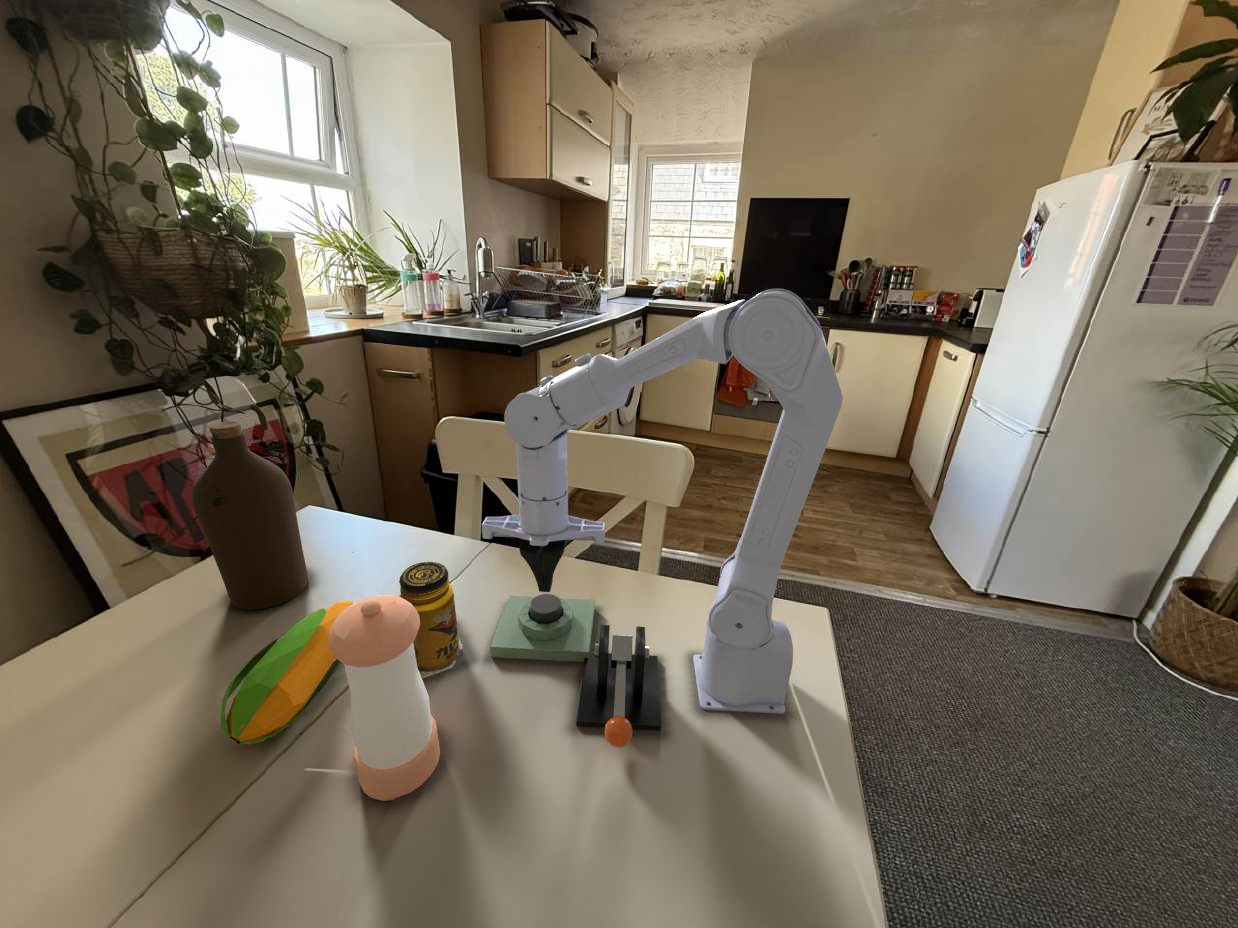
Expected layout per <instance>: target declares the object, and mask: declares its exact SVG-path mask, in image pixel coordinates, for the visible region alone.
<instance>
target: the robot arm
mask: <svg viewBox="0 0 1238 928" xmlns="http://www.w3.org/2000/svg"><path fill="white" fill-rule="evenodd" d="M827 345H828V344H827V342H826V339H825V336H824V333H823V330H822V327H821V324H820V322H819V320H818V318H817V317H816V315H815V314H814V313H813V311H811V310H810V308H809V307H808V306H807V305H806V303H805V301H804V300H803V299H802V298H801V297H800V296H798V295H797V294H796V293H795V292H792V291H791V290H788V289H785V288H770V289H766V290H763V291H761V292H759V293H758V294H756V295H754V296H753V297H752V298H749V300H746V299H741V300H737V301H735V302H732V303H729V304H726V305H723V306H720V307H717V308H714V309H711V310H709V311H705V312H703V313H701V314H699V315H697V316H695V317H692V318H691V319H689V320H688V321H686V322H683V323H682V324H680V325H678V326H676V327H675V328H673V329H671V330H669V331H667V332H666V333H663V334H662V335H660V336H658V337H656V338H654V339H653V340H651V341H649V342H647V343H645V344H644V345H642V346H640V347H638V348H637V349H634V350H632V351H631V352H629V353H627V354H626V355H624V356H622V357H620V358H616V357H611V356H610V355H606V354H602V353H598V354H596V355H594V356H592V355H591V354H590V353H586V354H584V355H581V356H579V357H578V358H576V359H575V360H574V363H575V364H576V365H575V366H574V367H572V368H570V369H568V370H567V371H566V370H565V371H564V372H563V373H560V374H558V375H557V376H554V377H553V376H552V375H551V374H550V375H547V376H545V377H543V378H541V379H540V380H539V384H540V385H539V386H537V387H535V388H533V389H531V390H528V391H526V392H522V393H518V394H517V395H516V396H515V398H514V399H512V400H511V401H509V402H508V403H507V406H506V408H505V410H504V416H503V421H504V426H505V428H506V431H507V433H508V434H509V436H510V437H511V439H512V440H513V441H514V442H515V452H516V453H515V456H516V473H517V474H516V475H517V493H518V495H517V497H518V514H511V515H503V516H486V517H485V518H484V520H483V522H482V523H481V533H482V534H481V535H482V539H484V540H491V539H493V537H503V538H518V539H520V546H519V554H520V557H522V558H523V560H524V561H525V562H526V563H527V565H528V566H529V568H530V570H531V572H532V574H533V577H534V579H535V581H536V585H537V588H538V591H539V593H551V590H552V586H553V582H554V574H555V571H556V568H557V566H558V564H559V562H560V560H561V559H562V557H563V555H564V553H565V549H566V545H567V541H585V542H586V541H587V542H594V544H596V545H604V544H605V537H606V522H603V521H594V520H590V519H585V518H581V517H576V516H572V515H569V482H568V481H569V466H568V465H569V461H568V460H569V459H568V457H569V455H568V433H569V430H572V429H577V428H579V427H581V426H583V425H585V424H588V423H589V422H591V421H594V420H596V419H598V418H601V417H603V416H605V415H606V414H609V413H611V412H613V411H615V410H617V409H620V408H622V407H624V406H625V405H626V403H627V401H628V399H629V395H630V392H631V389H632V388H634V387H637V386H639V385H641V384H643V383H645V382H647V381H650V380H653V379H654V378H656V377H659V376H661V375H664V374H666V373H668V372H670V371H673V370H675V369H677V368H680V367H682V366H684V365H686V364H688V363H691V362H694V361H696V360H704V361H709V362H713V363H717V364H722V365H727V363H728V362H729V361H730V360H731V358H732V357H734V358H735V360H737V362H738V363H739V364H740V365H741V366H742V367H743V368H745V370H747V371H749V372H750V373H751V374H753V376H756V377H757V378H759V379H760V380H762V381H763V382H764V383H765V384H767V386H768V388H769V390H770V391H771V392H772V393H773V395H774V397H775V398H776V399H777V401H778V402H779V405H781V407H782V408H783V409H782V411H781V414H780V418H779V421H778V424H777V427H776V430H775V433H774V436H773V439H772V442H771V445H770V448H769V452H768V455H767V457H766V460H765V464H764V466H763V470H762V473H761V476H760V478H759V482H758V484H757V488H756V491H755V494H754V497H753V500H752V503H751V506H750V510H749V513H748V516H747V519H746V521H745V524H744V528H743V529H742V530H743V531H742V534H741V537H740V538H739V540H738V543H737V546H736V548H735V550H734V552H733V553H732V554H731V555H730V556H729V557H728V558H727V559H725V560H724V562H723V563H722V565H721V567H720V570H719V580H718V584H717V588H716V592H715V595H714V600H713V602H712V605H711V607H710V608H709V610H708V613H707V618H706V625H705V632H704V638H703V639H704V640H703V647H702V654H693V656H692V657H693V659H692V661H693V666H694V667H693V668H694V674H695V681H696V688H697V696H698V703H699V707H700V708H701V709H702V710H706V711H723V712H724V711H726V712H745V713H759V714H761V713H764V714H778V715H779V714H781V715H783V714H785V713H786V706H785V700H786V696H787V691H788V687H789V682H790V678H791V674H792V671H793V663H794V661H793V660H794V645H793V638H792V634H791V631H790V629H789V626H788V625H787V624H786V622H784V621H780V620H776V619H774V618H773V617H772V616H773V603H774V598H775V594H776V590H777V585H778V581H779V576H780V571H781V567H782V564H783V561H784V559H785V556H786V555H787V551H788V549H789V546H790V543H791V541H792V538H793V535H794V533H795V530H796V528H797V525H798V522H799V520H800V517H801V514H802V513H803V509H804V506H805V503H806V501H807V499H808V496H809V493H810V490H811V488H812V485H813V483H814V480H815V478H816V475H817V472H818V469H819V467H820V465H821V462H822V459H823V456H824V454H825V451H826V448H827V446H828V443H829V441H830V438H831V436H832V433H833V430H834V428H835V426H836V423H837V420H838V417H839V414H840V412H841V409H842V408H843V407H842V406H843V401H844V396H843V392H842V389H841V385H840V383H839V379H838V377H837V374H836V373H837V372H836V370H835V367H834V364H833V361H832V358H831V355H830V352H829V351H830V350H829V348H828V346H827ZM772 618H773V619H772Z"/></svg>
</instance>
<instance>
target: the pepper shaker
mask: <svg viewBox="0 0 1238 928" xmlns="http://www.w3.org/2000/svg"><path fill="white" fill-rule="evenodd" d="M399 596H400V595H399ZM399 596H398V595H392V594H378V595H374V596H368V597H366V598H363V599H361V600H358V601H355V602H353V604H352V605H350V606H349V607H347V608H345V609H344V610H343V611H342V612H341V613H340V614H339V615H338V616H337V618H336V620H335V621H334V623H333V625H332V627H331V628H330V630H329V639H328V647H329V649H330V651H331V653H332V654H333V655H334V657H335V658H336V659H338V660H339V661H340V663H343V665H344V670H345V674H346V678H347V682H348V687H349V693H350V731H351V735H352V739H353V742H354V744H355V745H354V747H353V762H354V766H355V770H356V774H357V778H358V783H359V785H360V787H361V789H362V791H363V793H364V794H365V795H367V796H368V797H369V798H371V799H374V800H378V801H380V802H381V801H382V802H386V801H394V800H395V799H397V798H399V797H402V796H405V795H408V794H410V793H412V792H413V791H415V790H416V789H418V788H420V787H421V786H422V785H423V784H424V783H425V782H426V781H427V780H428V779H429V778H430V777H431V776H432V775H433V773H434V771H435V769H436V767H437V766H438V764H439V760H440V755H441V749H440V740H439V735H438V734H439V733H438V726H437V721H436V720H435V718H434V717H433V715H432V714H431V703H430V695H429V694H428V691H427V689H426V685H425V683H424V680H423V679H422V678H421V675H420V673H419V670H418V668H417V663H416V657H415V651H414V645H413V642H414V640H415V638H416V635H417V633H418V630H419V626H420V618H419V614H418V612H417V610H416V609H415V608H414V606H413V605H412V604H411V603H410V602H408V601H407V600H405V599H403V598H401V597H399ZM336 659H335V660H336Z"/></svg>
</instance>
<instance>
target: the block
mask: <svg viewBox="0 0 1238 928" xmlns="http://www.w3.org/2000/svg"><path fill="white" fill-rule="evenodd" d="M556 596H557V597H559V598H560V600H561V606H562V614H561V617H560V618H559V619H558V620H557V621H556V622H553V623H550V624H539V623H536V622H534V621H533V620H532V618H531V616H530V603H531V601H532V599H533V598H535V597H536V596H530V595H529V596H528V595H527V596H526V595H509V597H508V599H507V602H506V605H505V607H504V610H503V612H502V615H501V618H500V620H499V622H498V625H497V628H496V631H495V632H494V633H495V634H494V636H493V639H492V642H491V644H490V647H489V648H490V657H491V658H501V659H502V658H505V659H522V660H523V659H524V660H539V661H540V660H542V661H558V662H560V661H561V662H576V663H577V662H578V663H584V658H588V657H589V652H591V642H592V636H593V635H592V634H593V627H594V619H595V610H596V600H595V599H586V598H585V599H584V598H566V597H561V596H558V595H556Z"/></svg>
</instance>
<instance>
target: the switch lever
mask: <svg viewBox="0 0 1238 928" xmlns="http://www.w3.org/2000/svg"><path fill="white" fill-rule="evenodd" d="M611 640H612V641H611V642H612V643H611V653H612V657H611V668H616V680H615V700H614V717H612V718H611V719H609V721H608V722H607V723H606V726H605V728H604V730H603V731H604V738H605V740H606V741H607V743H608V744H609V745H610V746H612V747H613V748H617V749H618V748H623V747H625V746H627V745H628V744H629V743H630V741H631V739H632V738H633V729H632V726H631V723H630V722H629V720H628V719H626V718H625V692H626V669H631V664H632V654H633V635H625V634H612V639H611Z"/></svg>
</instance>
